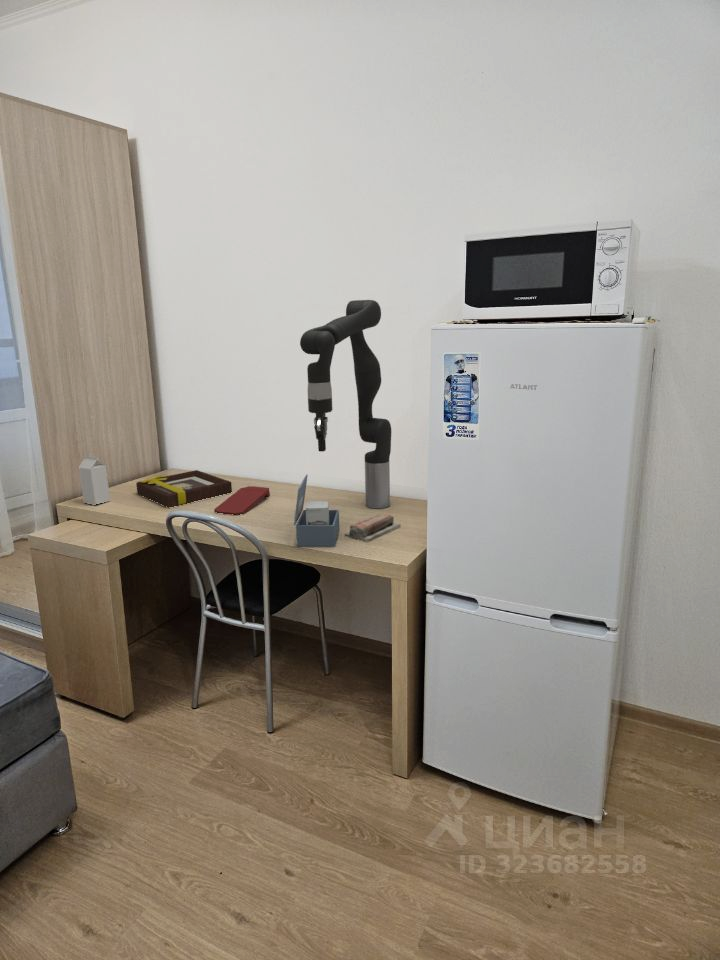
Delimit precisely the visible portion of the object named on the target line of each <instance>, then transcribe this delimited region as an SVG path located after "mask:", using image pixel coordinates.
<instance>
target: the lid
mask: <svg viewBox="0 0 720 960" xmlns="http://www.w3.org/2000/svg"><path fill="white" fill-rule="evenodd" d="M308 476H309V475H308V474H305V476H304V478H303V479H302V481H301V483H300V485H299V486H298V489H297V496H296V505H295V511H294V521H293V526H296V525H297V523H298V521H299V519H300V517H301V514H302V512H303V510H304V506H305V500H306V499H305V497H306V492H307V491H306V490H307V483H308Z"/></svg>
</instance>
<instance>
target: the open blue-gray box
mask: <svg viewBox="0 0 720 960" xmlns="http://www.w3.org/2000/svg"><path fill="white" fill-rule="evenodd" d="M295 529H296V534H295V535H296V547H297V548H298V547H300V548H301V547H302V548H303V547H304V548H309V547H311V548H312V547H313V548H314V547H317V548H321V547H322V548H327V547H328V548H329V547H330V548H333V547H336V544H337V541H338V537H339V534H338V533H340V531H341V530H340V509H329V525H306V509H303V510H302V512H301V515H300V517H299V519H298V521H297V523H296V525H295Z"/></svg>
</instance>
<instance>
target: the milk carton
mask: <svg viewBox="0 0 720 960" xmlns="http://www.w3.org/2000/svg"><path fill="white" fill-rule="evenodd" d="M78 473H79V479H80V480H79V481H80V486H81V493H82V500H83V501H82V502H83V504H84V503H89V504H94V505H96V504H99V503H102V502H106V501H109V502H111V495H110V487H109V482H108V474H107V466H106V464H105V463H103V462H102V461H100V459H99V458H98V457H97V456H94V455H93V456H91V455H84V458H83V460H82V461H81V463H80V465H79V466H78ZM106 503H107V502H106ZM94 505H93V506H94Z"/></svg>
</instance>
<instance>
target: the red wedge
mask: <svg viewBox="0 0 720 960" xmlns="http://www.w3.org/2000/svg"><path fill="white" fill-rule="evenodd" d="M269 496H270V497H271V493H270V488H269V487H264V486H253V485H252V486H249V485H248V486H245V487H242V488H239V489H237V490H236V491H235V492H234V493H233V494H232V495H230V496H229V497H227V499H225V500H224V501H223V502H222V503H220V504H219V505H217V506H216V507H215V508H214V509H213V510H214V513H216V512H217V513H216V514H218V513H223V514H222V515H226V514H233V515H232V516H241V515H240V514H243V515H245V514H247V512H249V511H250V510H251V509H252V508H253V507H255V505H257V504H258V503H259V502H260V501H261V500H262V499H263V498H265V497H268V498H270V497H269ZM244 513H245V514H244Z"/></svg>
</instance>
